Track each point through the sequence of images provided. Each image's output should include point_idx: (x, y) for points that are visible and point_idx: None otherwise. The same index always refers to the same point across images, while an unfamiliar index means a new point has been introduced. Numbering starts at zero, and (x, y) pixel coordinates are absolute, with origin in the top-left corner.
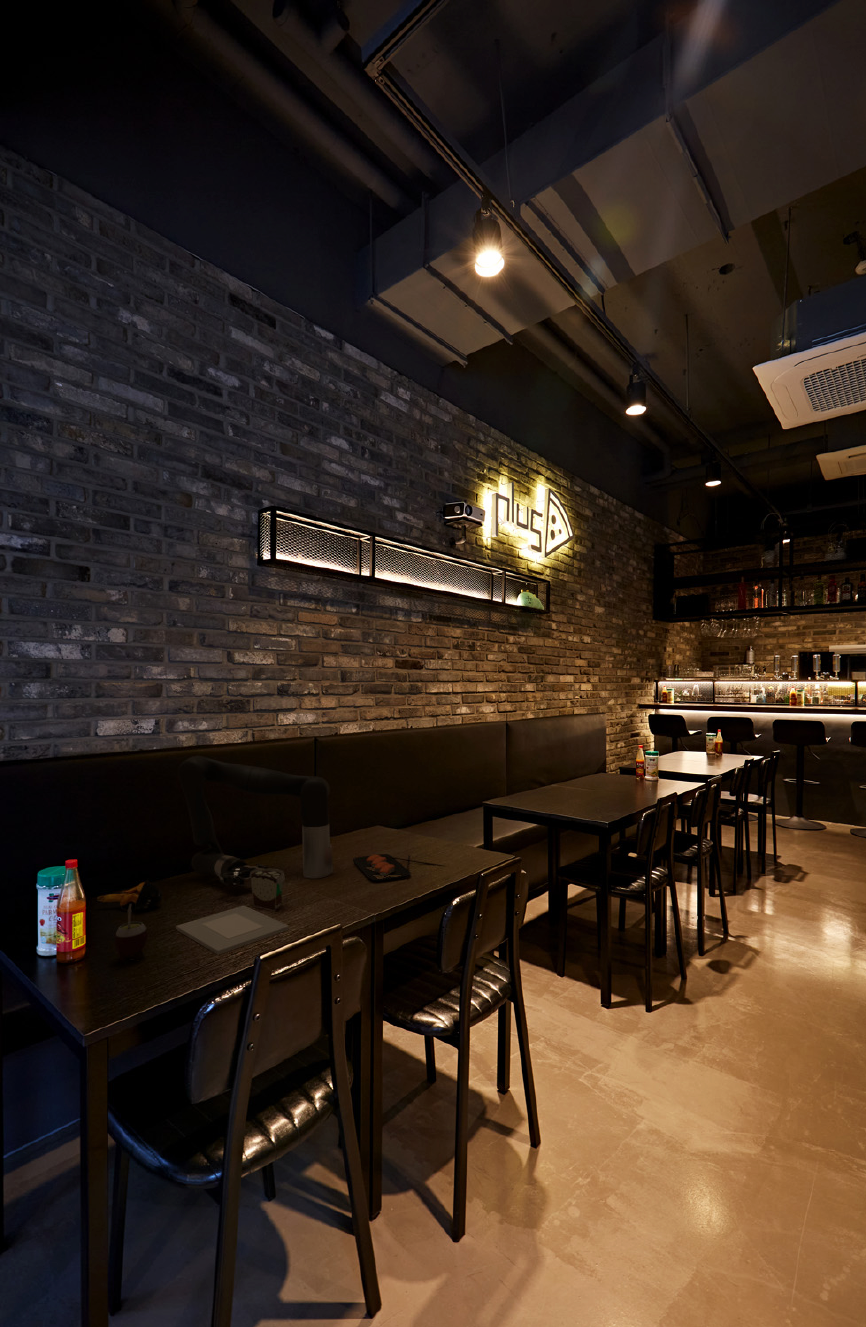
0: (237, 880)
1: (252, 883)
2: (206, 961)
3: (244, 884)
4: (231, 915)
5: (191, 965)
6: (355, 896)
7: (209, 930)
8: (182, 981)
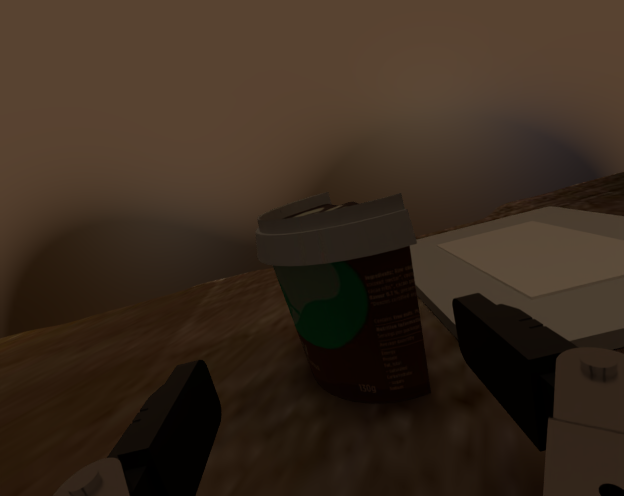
0: (536, 327)
1: (406, 269)
2: (573, 206)
3: (460, 346)
4: (549, 286)
5: (606, 200)
6: (129, 340)
7: (619, 238)
8: (602, 187)
